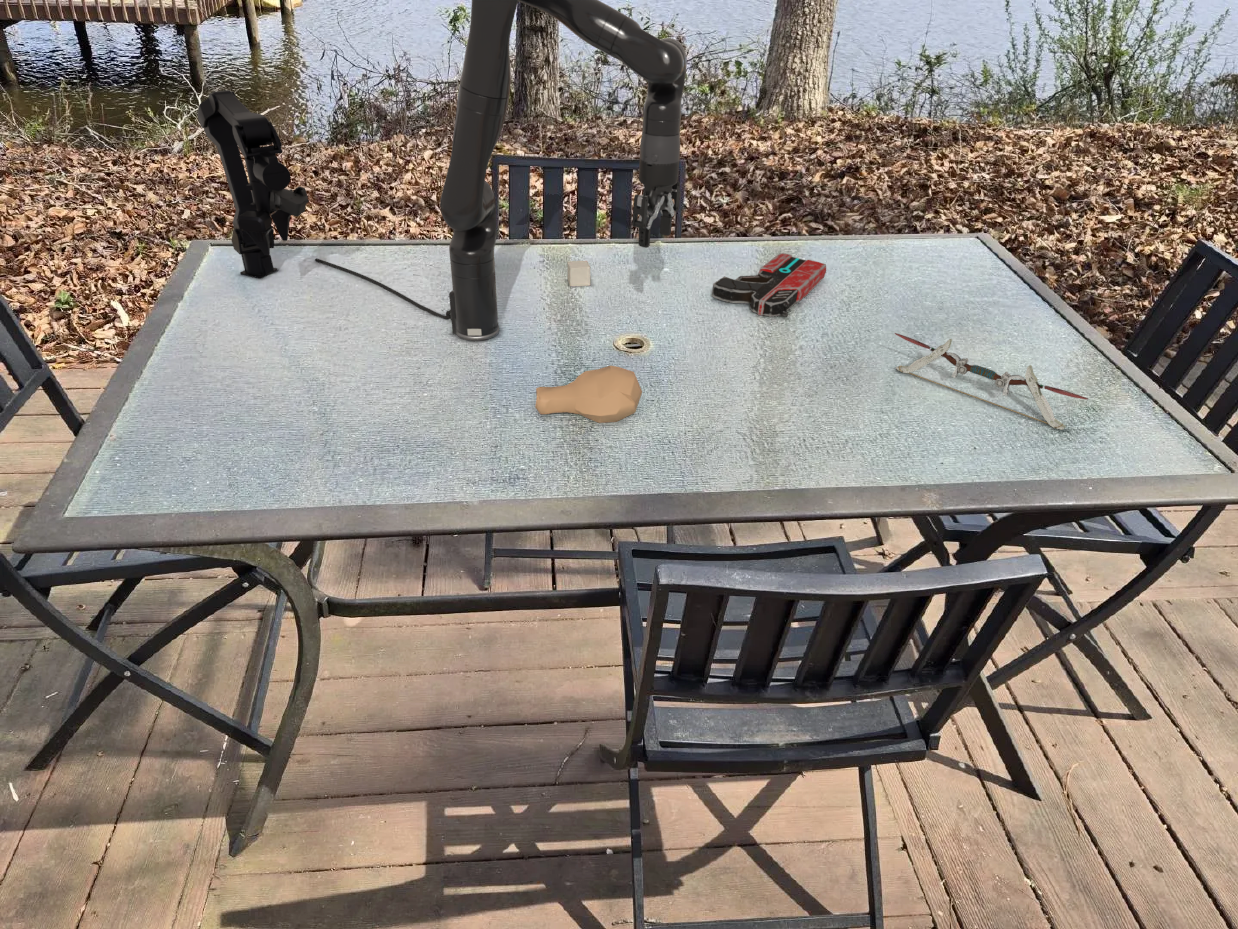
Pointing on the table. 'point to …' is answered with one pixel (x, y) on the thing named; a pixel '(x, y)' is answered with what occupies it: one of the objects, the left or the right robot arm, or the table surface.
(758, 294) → the gun
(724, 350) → the table surface
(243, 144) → the left robot arm
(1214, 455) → the table surface
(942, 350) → the bow
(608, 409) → the squash
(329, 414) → the table surface
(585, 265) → the beige cube
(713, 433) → the table surface
